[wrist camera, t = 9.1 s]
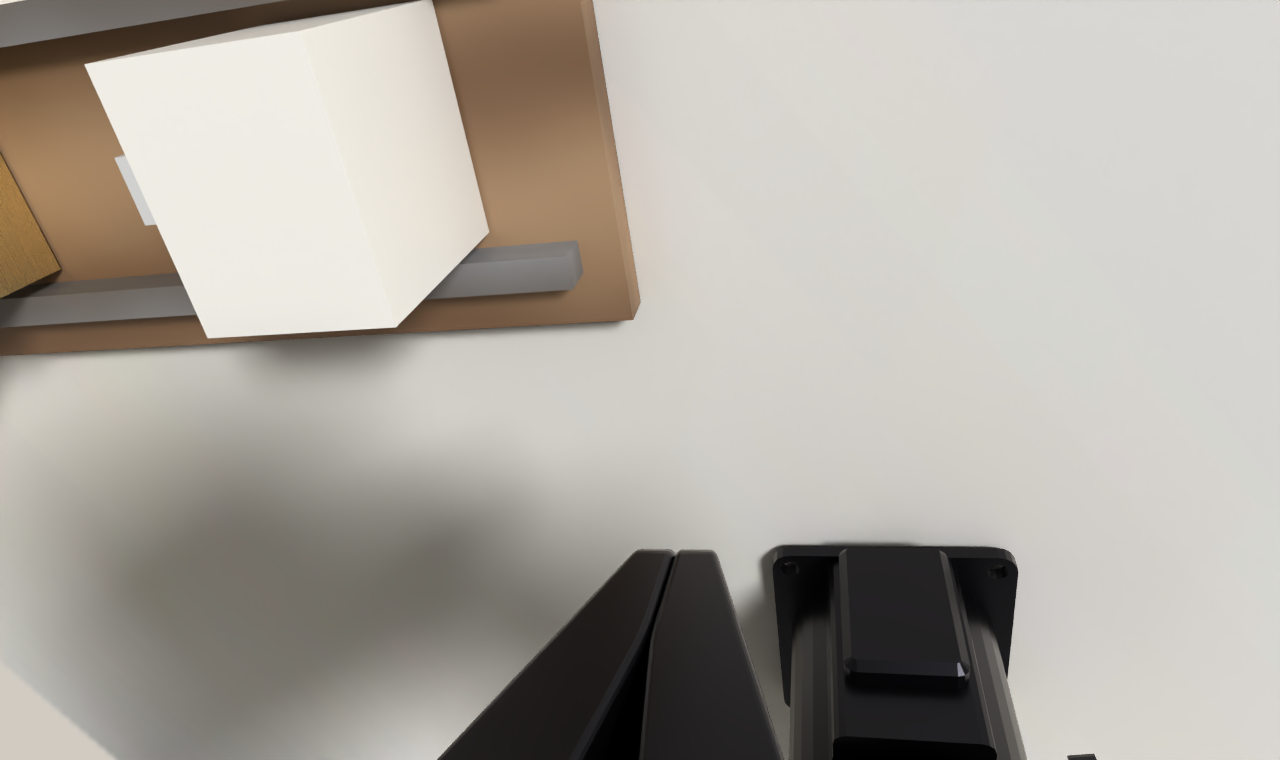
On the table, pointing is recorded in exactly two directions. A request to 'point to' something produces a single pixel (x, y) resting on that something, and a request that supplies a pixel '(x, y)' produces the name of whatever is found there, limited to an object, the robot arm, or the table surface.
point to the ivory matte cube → (300, 168)
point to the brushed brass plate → (20, 240)
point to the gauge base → (494, 128)
